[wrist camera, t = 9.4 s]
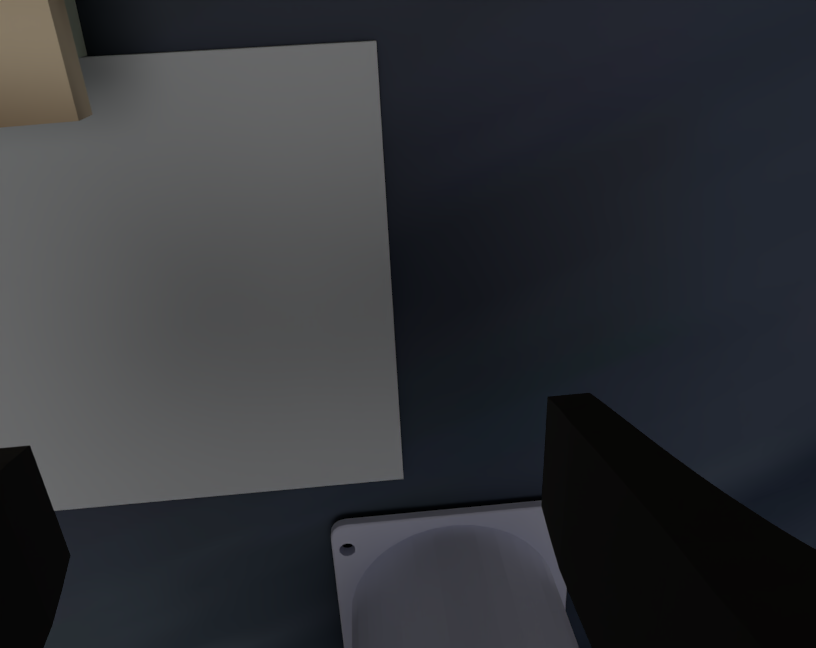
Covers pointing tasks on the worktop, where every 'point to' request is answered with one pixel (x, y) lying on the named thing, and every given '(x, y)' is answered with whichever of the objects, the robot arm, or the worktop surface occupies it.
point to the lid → (39, 65)
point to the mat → (202, 279)
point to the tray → (75, 27)
